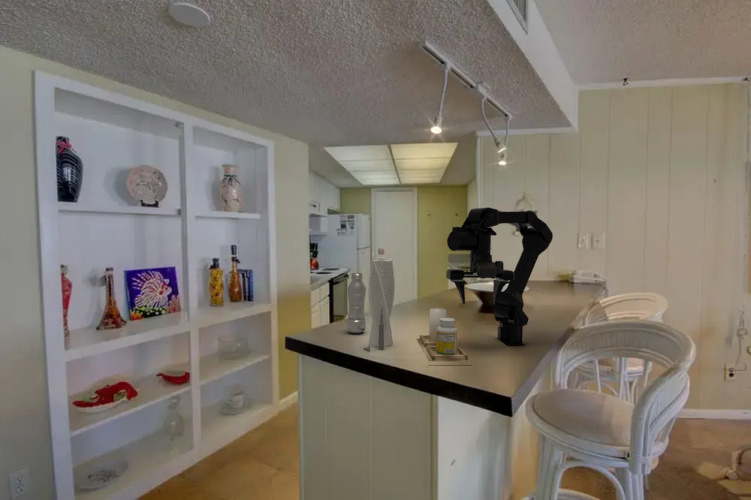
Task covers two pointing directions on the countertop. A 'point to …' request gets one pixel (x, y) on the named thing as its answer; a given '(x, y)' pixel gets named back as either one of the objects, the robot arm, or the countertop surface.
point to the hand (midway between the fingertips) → (479, 304)
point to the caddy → (431, 355)
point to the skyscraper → (381, 302)
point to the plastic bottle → (356, 304)
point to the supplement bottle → (446, 337)
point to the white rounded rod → (435, 322)
